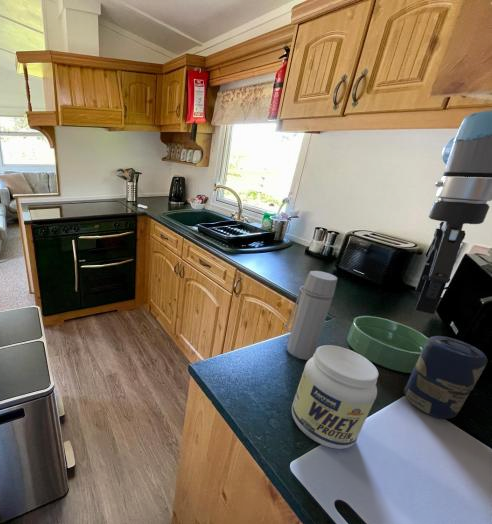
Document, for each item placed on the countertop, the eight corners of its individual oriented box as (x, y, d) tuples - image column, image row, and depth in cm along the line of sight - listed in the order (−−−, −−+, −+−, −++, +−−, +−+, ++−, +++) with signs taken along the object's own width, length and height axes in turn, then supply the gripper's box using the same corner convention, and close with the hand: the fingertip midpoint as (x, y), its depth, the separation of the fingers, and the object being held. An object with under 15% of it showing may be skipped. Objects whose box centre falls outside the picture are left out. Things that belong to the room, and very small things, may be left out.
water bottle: (318, 356, 84) (345, 278, 76) (304, 365, 80) (330, 283, 71) (289, 339, 91) (310, 266, 83) (274, 346, 87) (295, 270, 78)
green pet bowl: (423, 352, 89) (433, 333, 87) (427, 385, 76) (439, 364, 73) (350, 327, 101) (357, 309, 98) (342, 351, 87) (349, 332, 85)
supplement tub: (291, 436, 59) (314, 370, 53) (288, 394, 69) (307, 335, 63) (362, 463, 54) (395, 394, 48) (348, 414, 65) (374, 352, 59)
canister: (442, 427, 63) (481, 361, 57) (392, 395, 71) (422, 334, 65) (462, 415, 67) (501, 351, 61) (413, 386, 75) (443, 327, 69)
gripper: (432, 196, 66) (403, 281, 73) (437, 202, 49) (398, 314, 55) (480, 199, 62) (444, 290, 68) (505, 208, 44) (453, 329, 51)
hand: (423, 301), depth 62 cm, fingers open, 13 cm apart
